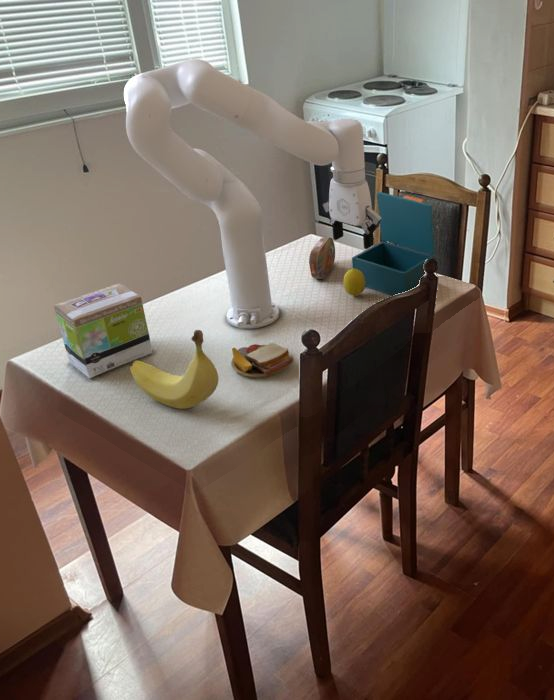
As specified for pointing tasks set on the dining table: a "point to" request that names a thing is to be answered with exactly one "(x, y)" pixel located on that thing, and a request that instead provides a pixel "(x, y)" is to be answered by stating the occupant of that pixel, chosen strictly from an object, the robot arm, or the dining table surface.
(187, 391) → the banana
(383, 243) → the box
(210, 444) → the dining table surface
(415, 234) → the lunchbox lid
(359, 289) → the lemon
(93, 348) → the tea box
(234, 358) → the toy sandwich meal
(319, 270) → the tin
